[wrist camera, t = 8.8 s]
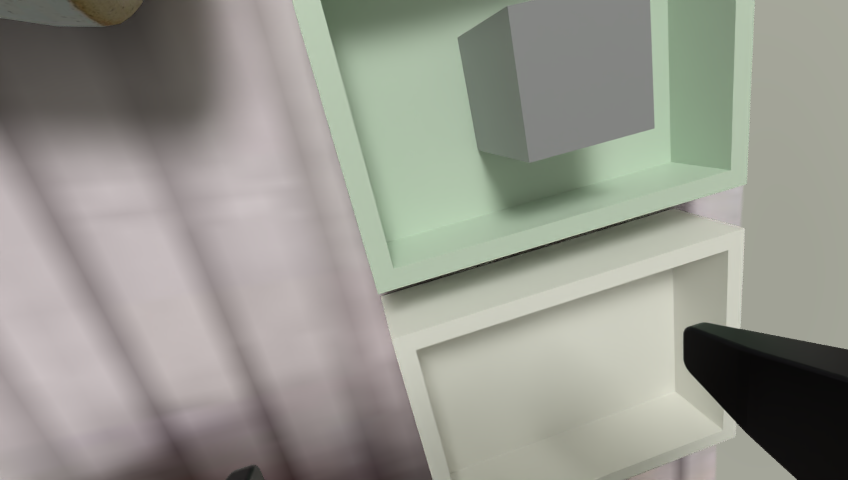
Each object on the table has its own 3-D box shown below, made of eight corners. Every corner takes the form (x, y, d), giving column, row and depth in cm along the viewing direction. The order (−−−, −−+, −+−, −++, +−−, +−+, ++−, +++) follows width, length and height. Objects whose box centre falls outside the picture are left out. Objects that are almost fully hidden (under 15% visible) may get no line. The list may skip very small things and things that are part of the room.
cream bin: (676, 389, 25) (735, 436, 22) (433, 477, 23) (452, 546, 20) (673, 208, 22) (744, 228, 18) (380, 296, 20) (391, 339, 16)
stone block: (572, 125, 18) (654, 128, 13) (477, 150, 18) (529, 162, 13) (561, 14, 17) (649, -26, 12) (457, 37, 16) (507, 6, 11)
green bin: (672, 171, 21) (746, 184, 17) (369, 258, 19) (378, 294, 15) (667, -110, 17) (762, -174, 13) (283, -38, 15) (265, -89, 11)
